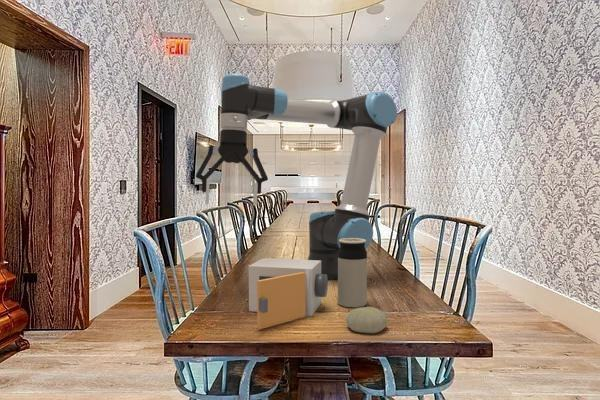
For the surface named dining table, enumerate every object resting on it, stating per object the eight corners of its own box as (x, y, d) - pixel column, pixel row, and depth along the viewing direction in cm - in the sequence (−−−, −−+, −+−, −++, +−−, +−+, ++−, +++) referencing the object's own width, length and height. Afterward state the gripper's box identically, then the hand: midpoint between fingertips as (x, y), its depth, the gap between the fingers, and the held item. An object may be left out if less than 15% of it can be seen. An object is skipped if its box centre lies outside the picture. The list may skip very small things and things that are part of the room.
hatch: (302, 315, 110) (302, 271, 110) (309, 317, 108) (309, 273, 108) (257, 327, 101) (257, 280, 100) (263, 330, 99) (263, 282, 99)
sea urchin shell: (339, 315, 106) (362, 291, 106) (362, 337, 107) (385, 313, 107) (346, 327, 97) (372, 302, 97) (371, 351, 98) (396, 326, 98)
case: (329, 303, 122) (329, 260, 121) (320, 318, 109) (320, 270, 109) (263, 298, 127) (263, 257, 126) (247, 312, 114) (246, 267, 113)
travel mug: (359, 310, 116) (359, 242, 115) (332, 305, 120) (332, 240, 119) (371, 302, 123) (371, 239, 122) (345, 298, 127) (345, 237, 126)
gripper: (188, 125, 118) (186, 204, 118) (279, 131, 124) (276, 206, 124) (188, 128, 125) (186, 202, 125) (274, 134, 131) (271, 205, 132)
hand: (231, 204), depth 125 cm, fingers open, 13 cm apart
